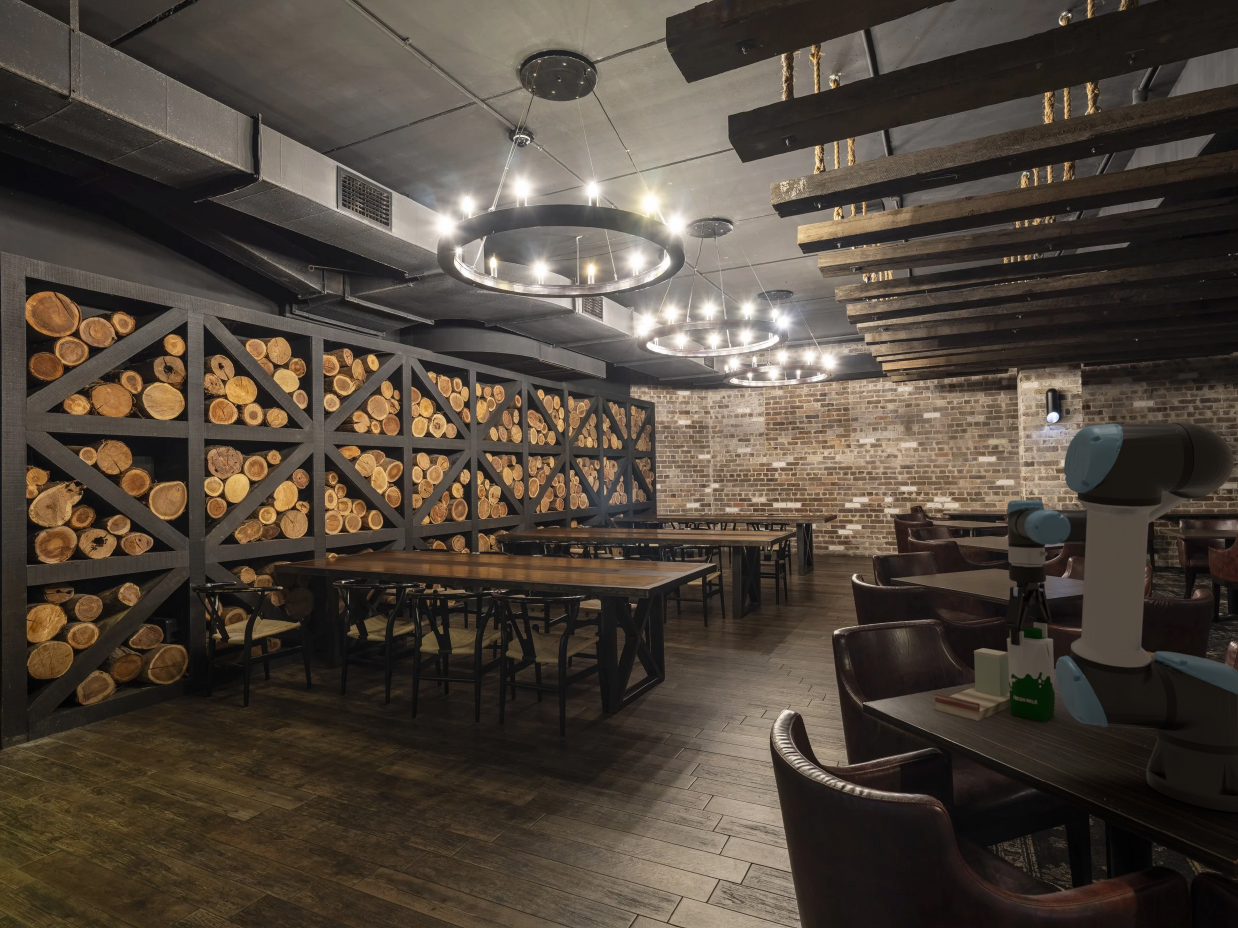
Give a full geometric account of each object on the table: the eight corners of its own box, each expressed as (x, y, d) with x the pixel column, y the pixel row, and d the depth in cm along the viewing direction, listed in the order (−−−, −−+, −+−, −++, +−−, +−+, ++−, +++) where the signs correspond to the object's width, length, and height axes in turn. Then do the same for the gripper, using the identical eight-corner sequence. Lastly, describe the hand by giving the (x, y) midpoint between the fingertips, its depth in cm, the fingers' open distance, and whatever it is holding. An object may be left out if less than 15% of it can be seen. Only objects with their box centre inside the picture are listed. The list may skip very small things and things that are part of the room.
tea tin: (1000, 696, 164) (999, 655, 164) (975, 691, 169) (973, 650, 169) (1009, 693, 167) (1008, 652, 167) (984, 687, 172) (982, 647, 172)
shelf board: (978, 720, 152) (977, 704, 152) (935, 709, 160) (935, 693, 160) (1018, 702, 166) (1018, 687, 166) (977, 693, 173) (977, 678, 174)
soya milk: (1059, 715, 156) (1056, 629, 157) (1047, 724, 150) (1044, 635, 151) (1018, 706, 162) (1015, 624, 163) (1004, 715, 156) (1002, 629, 157)
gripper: (1022, 570, 147) (1024, 666, 146) (1064, 562, 162) (1067, 649, 162) (986, 567, 153) (989, 659, 152) (1031, 559, 168) (1033, 643, 168)
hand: (1029, 654), depth 157 cm, fingers open, 13 cm apart
